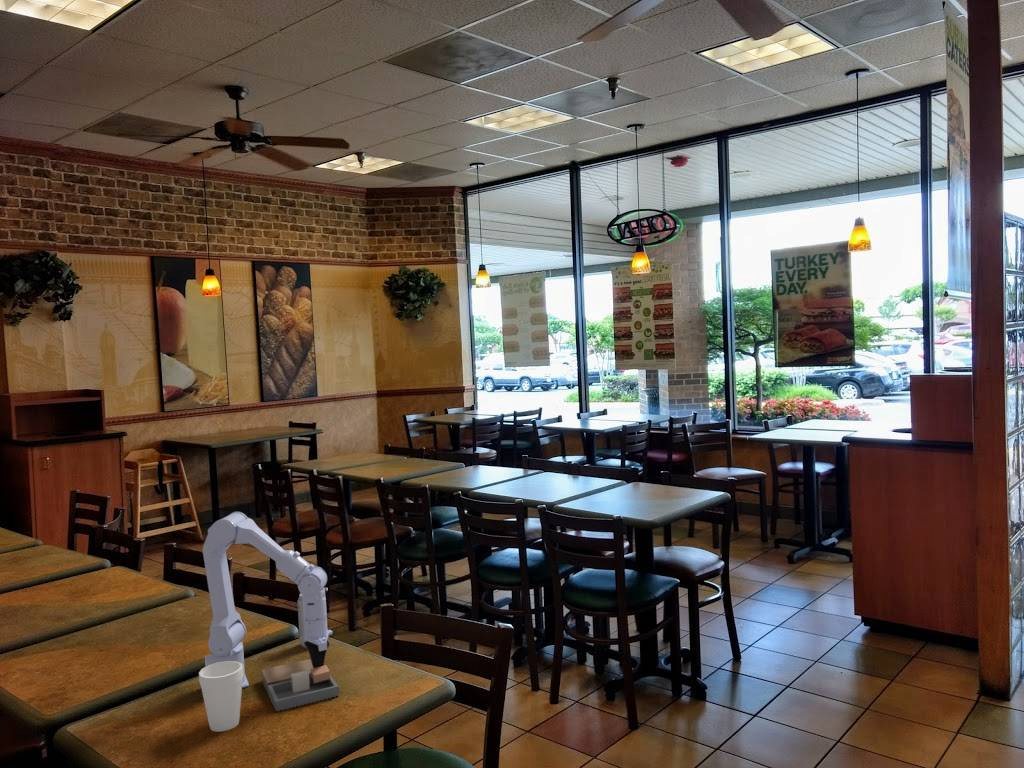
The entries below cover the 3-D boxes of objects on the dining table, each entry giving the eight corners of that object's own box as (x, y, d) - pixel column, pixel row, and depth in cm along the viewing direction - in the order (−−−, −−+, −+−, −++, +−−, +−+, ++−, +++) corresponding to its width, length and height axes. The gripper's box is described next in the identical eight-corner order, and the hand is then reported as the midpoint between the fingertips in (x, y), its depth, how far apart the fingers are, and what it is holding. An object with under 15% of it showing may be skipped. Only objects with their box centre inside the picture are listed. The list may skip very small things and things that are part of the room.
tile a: (291, 689, 192) (293, 692, 190) (290, 674, 192) (292, 676, 190) (308, 685, 194) (309, 688, 192) (307, 670, 194) (308, 673, 192)
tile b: (314, 683, 191) (313, 675, 191) (311, 676, 195) (310, 669, 195) (330, 678, 193) (329, 671, 193) (326, 672, 196) (326, 664, 196)
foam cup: (210, 716, 181) (206, 662, 180) (250, 713, 182) (247, 659, 181) (197, 736, 171) (193, 679, 171) (239, 733, 172) (236, 676, 171)
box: (276, 711, 182) (275, 701, 182) (268, 695, 191) (268, 685, 191) (338, 696, 188) (338, 686, 188) (328, 681, 198) (328, 671, 197)
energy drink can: (315, 649, 219) (312, 597, 219) (296, 648, 221) (293, 597, 220) (325, 641, 225) (322, 590, 225) (306, 640, 226) (303, 590, 226)
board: (268, 694, 191) (267, 683, 191) (262, 680, 199) (261, 669, 199) (328, 680, 198) (328, 669, 198) (320, 667, 206) (319, 656, 206)
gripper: (338, 622, 191) (341, 675, 192) (324, 605, 204) (327, 656, 205) (309, 628, 188) (312, 682, 189) (297, 611, 201) (300, 662, 201)
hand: (318, 669), depth 196 cm, fingers closed
